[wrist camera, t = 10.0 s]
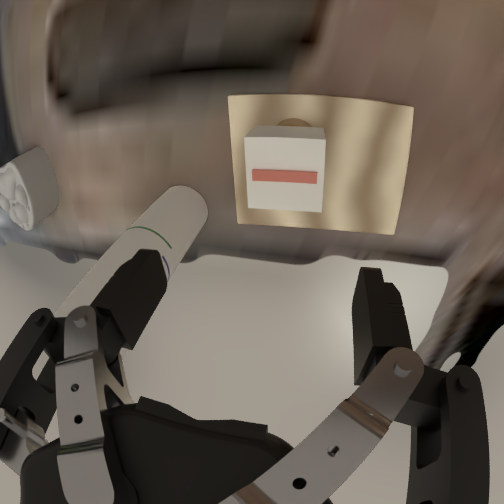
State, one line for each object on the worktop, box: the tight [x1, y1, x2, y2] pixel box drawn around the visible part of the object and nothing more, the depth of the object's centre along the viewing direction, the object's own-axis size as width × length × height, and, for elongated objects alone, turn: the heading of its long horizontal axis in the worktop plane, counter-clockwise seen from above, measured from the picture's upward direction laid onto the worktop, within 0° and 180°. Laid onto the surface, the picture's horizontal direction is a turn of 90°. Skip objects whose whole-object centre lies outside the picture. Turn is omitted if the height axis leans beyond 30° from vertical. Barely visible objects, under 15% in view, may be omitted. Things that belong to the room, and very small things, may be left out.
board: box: [228, 94, 414, 235], centre depth 31 cm, size 20×16×2 cm
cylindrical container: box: [54, 185, 208, 360], centre depth 29 cm, size 7×7×25 cm
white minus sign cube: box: [244, 126, 326, 213], centre depth 22 cm, size 6×6×5 cm
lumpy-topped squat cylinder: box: [0, 146, 59, 230], centre depth 38 cm, size 10×13×9 cm
